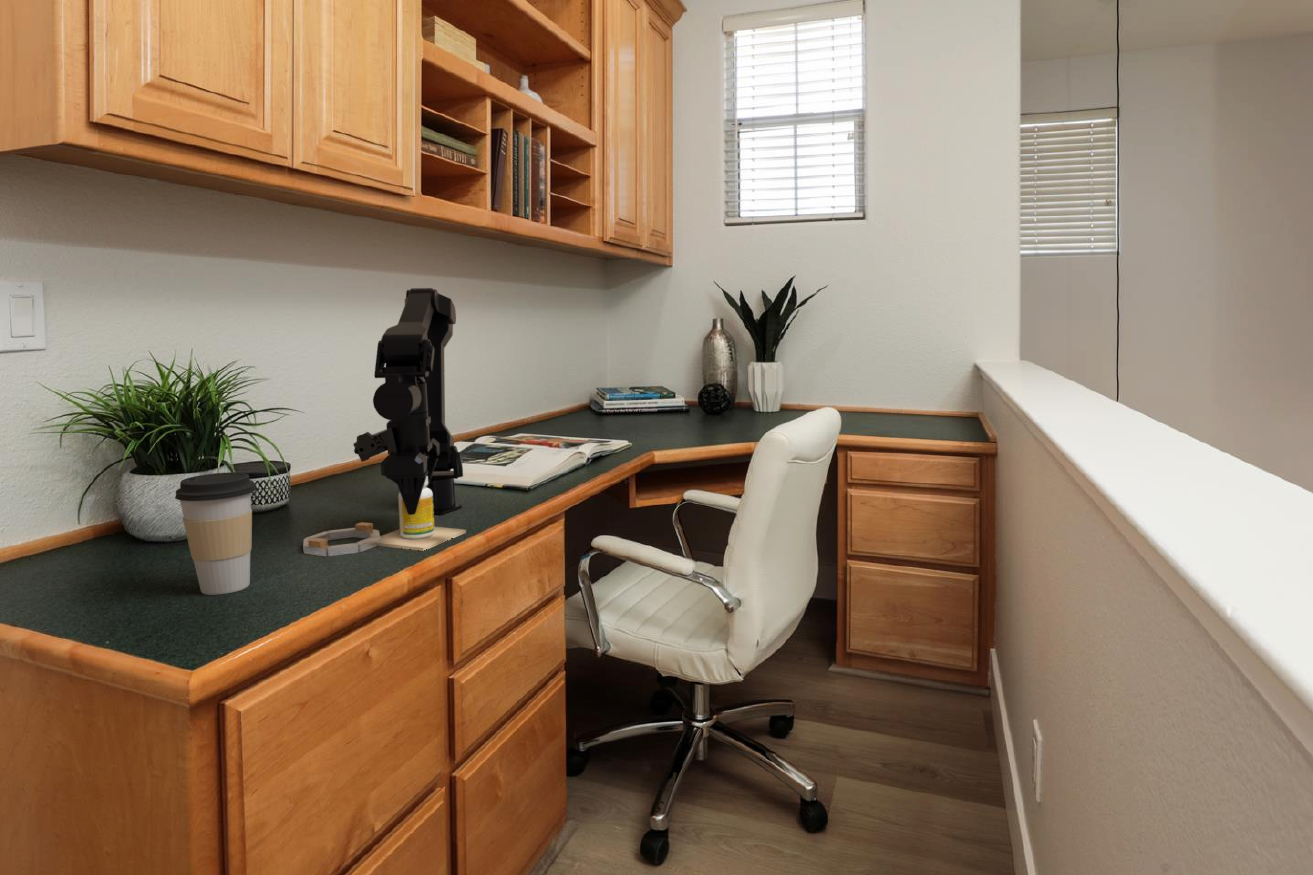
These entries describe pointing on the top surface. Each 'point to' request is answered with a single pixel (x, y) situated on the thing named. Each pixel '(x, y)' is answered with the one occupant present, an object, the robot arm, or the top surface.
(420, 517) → the supplement bottle
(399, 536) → the coaster
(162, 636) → the top surface
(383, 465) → the robot arm
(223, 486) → the coffee cup
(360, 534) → the grey octagonal ring
